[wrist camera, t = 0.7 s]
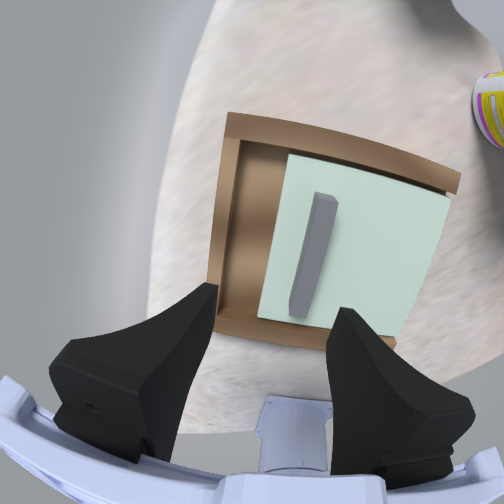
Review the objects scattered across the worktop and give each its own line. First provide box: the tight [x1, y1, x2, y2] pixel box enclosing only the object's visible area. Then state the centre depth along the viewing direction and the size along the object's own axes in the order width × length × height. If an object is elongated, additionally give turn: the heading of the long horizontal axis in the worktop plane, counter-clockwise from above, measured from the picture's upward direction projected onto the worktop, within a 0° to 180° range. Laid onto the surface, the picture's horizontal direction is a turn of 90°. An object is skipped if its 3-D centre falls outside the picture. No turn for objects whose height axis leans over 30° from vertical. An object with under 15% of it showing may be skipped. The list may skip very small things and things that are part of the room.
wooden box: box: [207, 112, 461, 351], centre depth 20 cm, size 16×16×3 cm
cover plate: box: [257, 153, 452, 337], centre depth 18 cm, size 12×12×3 cm
